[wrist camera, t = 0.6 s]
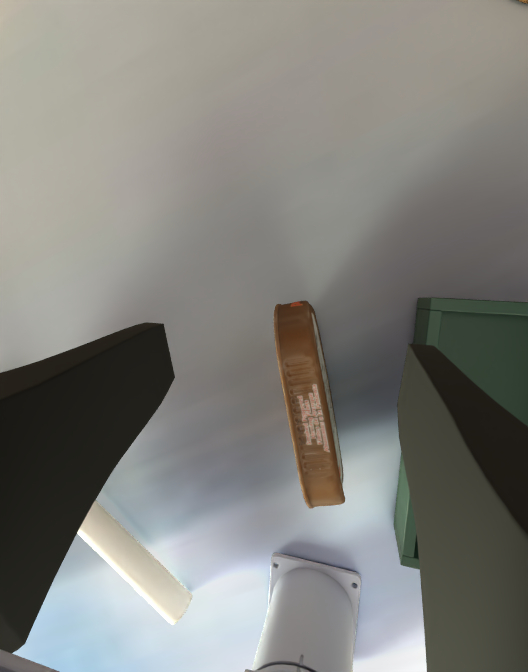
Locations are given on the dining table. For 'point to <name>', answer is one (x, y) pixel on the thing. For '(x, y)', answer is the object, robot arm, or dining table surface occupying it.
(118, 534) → the paper towel holder
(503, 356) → the tote
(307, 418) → the tin
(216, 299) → the dining table surface
